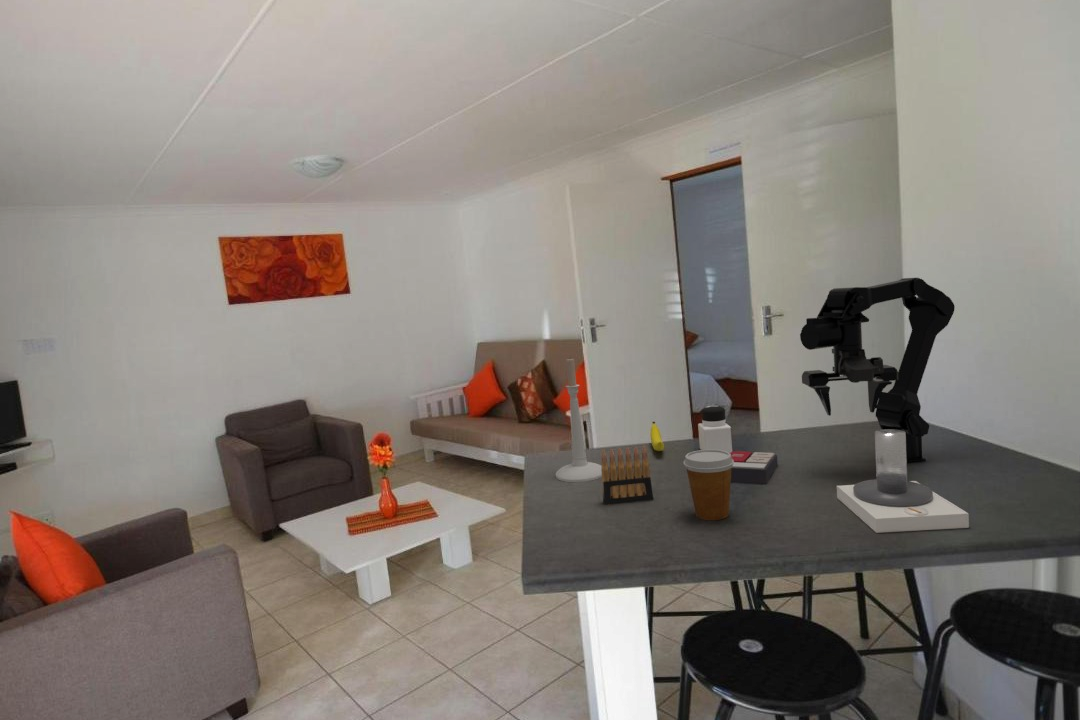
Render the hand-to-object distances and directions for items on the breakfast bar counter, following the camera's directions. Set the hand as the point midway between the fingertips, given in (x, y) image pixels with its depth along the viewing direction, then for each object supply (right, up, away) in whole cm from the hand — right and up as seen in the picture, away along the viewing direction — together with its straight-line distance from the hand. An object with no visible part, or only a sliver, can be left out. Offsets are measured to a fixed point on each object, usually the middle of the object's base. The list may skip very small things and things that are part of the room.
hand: (850, 413), depth 140 cm
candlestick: (-59, -17, +19) cm, 64 cm away
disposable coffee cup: (-35, -19, -17) cm, 43 cm away
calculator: (-21, -15, +7) cm, 26 cm away
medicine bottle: (-22, -13, +28) cm, 38 cm away
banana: (-37, -13, +34) cm, 51 cm away
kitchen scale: (-3, -16, -24) cm, 29 cm away
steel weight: (-3, -12, -22) cm, 26 cm away
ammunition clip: (-50, -19, -4) cm, 54 cm away
